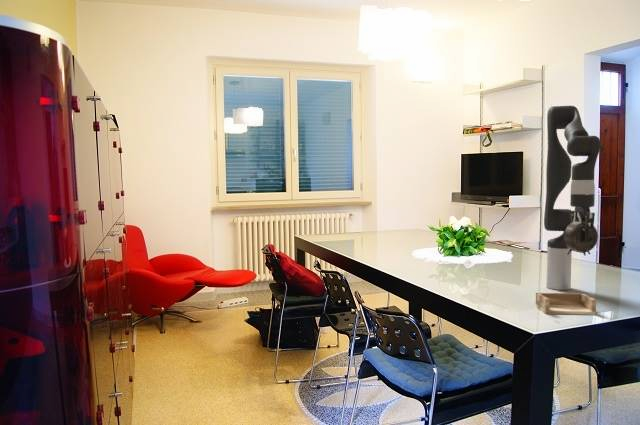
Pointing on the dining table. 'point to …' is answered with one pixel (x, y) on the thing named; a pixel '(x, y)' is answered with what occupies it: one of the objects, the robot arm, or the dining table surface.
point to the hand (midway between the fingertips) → (581, 240)
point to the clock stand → (565, 303)
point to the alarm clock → (579, 238)
